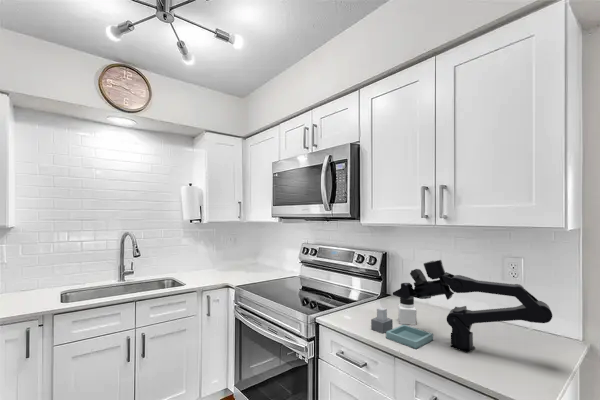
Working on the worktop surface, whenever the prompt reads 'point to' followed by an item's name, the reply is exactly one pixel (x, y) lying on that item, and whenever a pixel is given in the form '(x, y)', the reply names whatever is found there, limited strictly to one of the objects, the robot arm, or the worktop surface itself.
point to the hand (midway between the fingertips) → (398, 293)
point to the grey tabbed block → (381, 321)
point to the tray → (409, 336)
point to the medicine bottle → (407, 312)
